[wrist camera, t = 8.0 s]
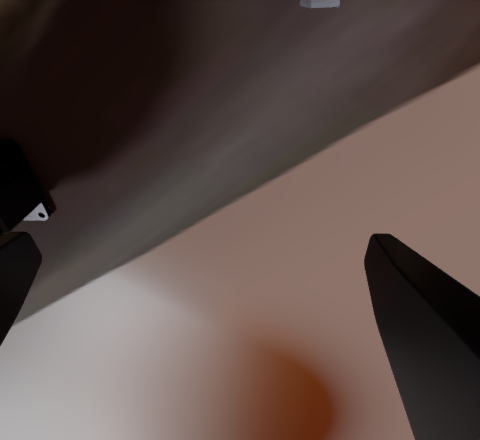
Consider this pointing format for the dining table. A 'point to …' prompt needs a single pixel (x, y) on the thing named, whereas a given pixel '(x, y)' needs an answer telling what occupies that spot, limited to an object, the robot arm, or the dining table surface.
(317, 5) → the grey faceted open cylinder
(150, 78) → the dining table surface
